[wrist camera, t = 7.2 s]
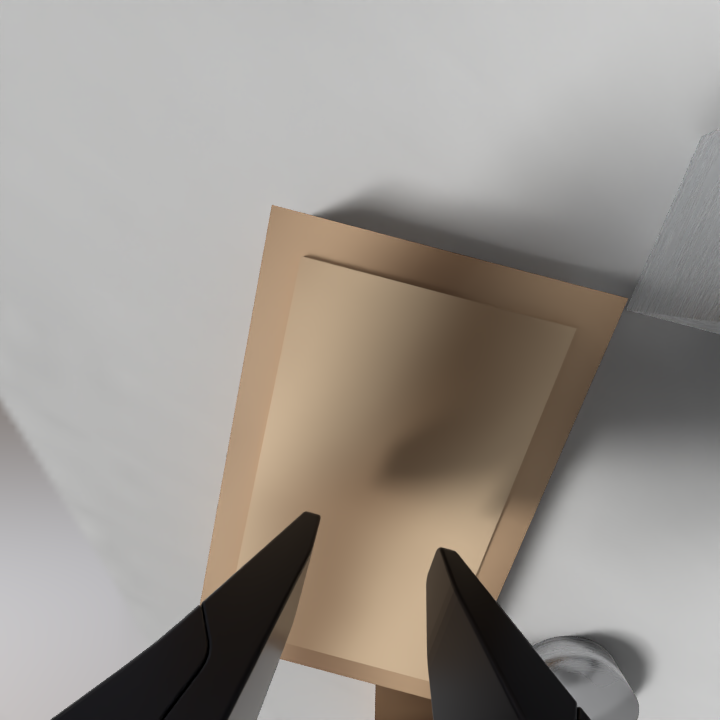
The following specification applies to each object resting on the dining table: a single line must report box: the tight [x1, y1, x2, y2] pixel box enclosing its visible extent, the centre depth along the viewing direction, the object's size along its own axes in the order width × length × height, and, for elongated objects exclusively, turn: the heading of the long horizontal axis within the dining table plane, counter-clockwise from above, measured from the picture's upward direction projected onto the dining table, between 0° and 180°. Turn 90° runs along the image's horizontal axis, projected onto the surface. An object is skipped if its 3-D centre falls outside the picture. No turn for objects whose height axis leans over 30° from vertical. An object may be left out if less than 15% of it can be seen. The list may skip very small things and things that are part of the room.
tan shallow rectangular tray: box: [200, 205, 628, 699], centre depth 11 cm, size 9×14×3 cm, turn 166°
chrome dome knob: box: [532, 636, 639, 720], centre depth 14 cm, size 4×4×2 cm
